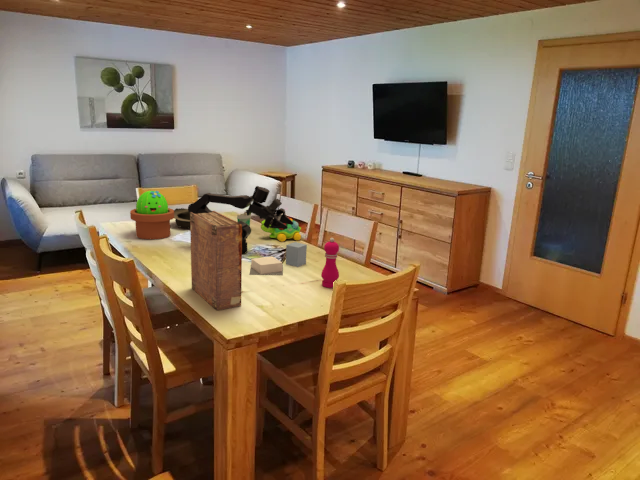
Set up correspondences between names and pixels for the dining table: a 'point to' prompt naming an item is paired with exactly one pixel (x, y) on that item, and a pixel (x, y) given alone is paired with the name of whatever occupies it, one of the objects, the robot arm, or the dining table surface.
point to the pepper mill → (330, 264)
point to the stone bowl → (182, 218)
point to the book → (216, 259)
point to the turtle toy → (284, 231)
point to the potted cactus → (152, 216)
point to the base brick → (266, 265)
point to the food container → (244, 218)
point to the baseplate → (253, 272)
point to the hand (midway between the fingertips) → (290, 225)
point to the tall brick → (296, 254)
